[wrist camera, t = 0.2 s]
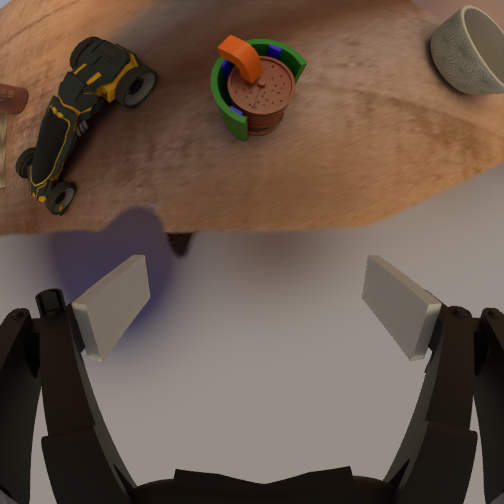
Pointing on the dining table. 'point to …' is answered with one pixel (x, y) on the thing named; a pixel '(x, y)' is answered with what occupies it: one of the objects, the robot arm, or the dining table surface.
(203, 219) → the dining table surface
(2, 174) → the board
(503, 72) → the planter
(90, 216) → the dining table surface
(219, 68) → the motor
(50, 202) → the toy car
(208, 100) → the dining table surface
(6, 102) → the beverage can
